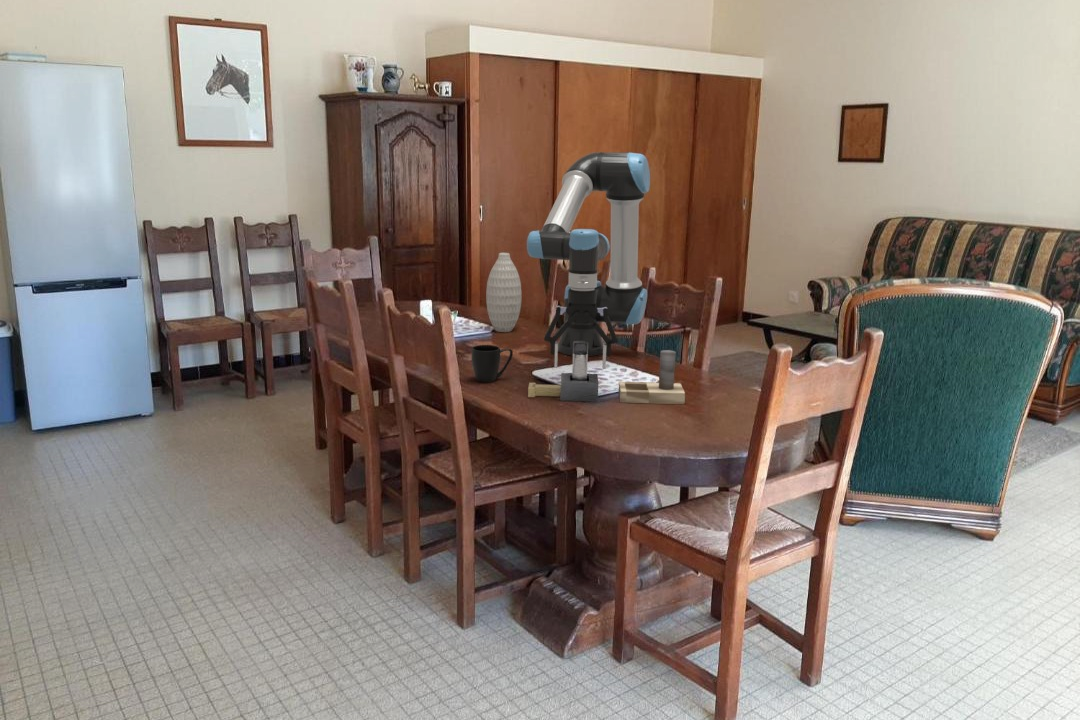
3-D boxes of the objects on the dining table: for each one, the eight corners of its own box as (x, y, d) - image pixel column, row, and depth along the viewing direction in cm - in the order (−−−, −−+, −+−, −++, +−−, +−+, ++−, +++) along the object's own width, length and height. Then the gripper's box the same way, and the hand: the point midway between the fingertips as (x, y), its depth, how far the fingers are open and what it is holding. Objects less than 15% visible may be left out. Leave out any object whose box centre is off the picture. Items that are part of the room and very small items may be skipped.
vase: (506, 325, 322) (507, 250, 315) (528, 331, 313) (529, 254, 306) (479, 329, 314) (479, 252, 307) (500, 335, 305) (500, 256, 298)
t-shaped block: (529, 391, 237) (529, 382, 237) (568, 392, 237) (569, 383, 236) (528, 397, 231) (528, 388, 231) (568, 398, 231) (569, 389, 231)
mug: (515, 382, 246) (516, 350, 244) (474, 384, 243) (474, 352, 240) (508, 374, 254) (509, 343, 251) (469, 377, 250) (468, 345, 248)
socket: (560, 390, 239) (561, 372, 238) (596, 391, 239) (597, 373, 237) (560, 400, 229) (560, 382, 228) (597, 401, 229) (598, 383, 228)
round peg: (571, 393, 236) (573, 340, 232) (586, 394, 236) (588, 340, 232) (571, 397, 232) (573, 343, 228) (586, 398, 232) (588, 344, 228)
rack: (618, 391, 238) (620, 346, 235) (679, 393, 238) (682, 348, 235) (620, 402, 229) (622, 355, 226) (684, 404, 228) (687, 356, 225)
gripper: (535, 289, 223) (534, 369, 229) (629, 292, 223) (626, 372, 228) (536, 285, 231) (535, 362, 236) (627, 287, 230) (624, 364, 235)
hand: (579, 367), depth 232 cm, fingers open, 12 cm apart
